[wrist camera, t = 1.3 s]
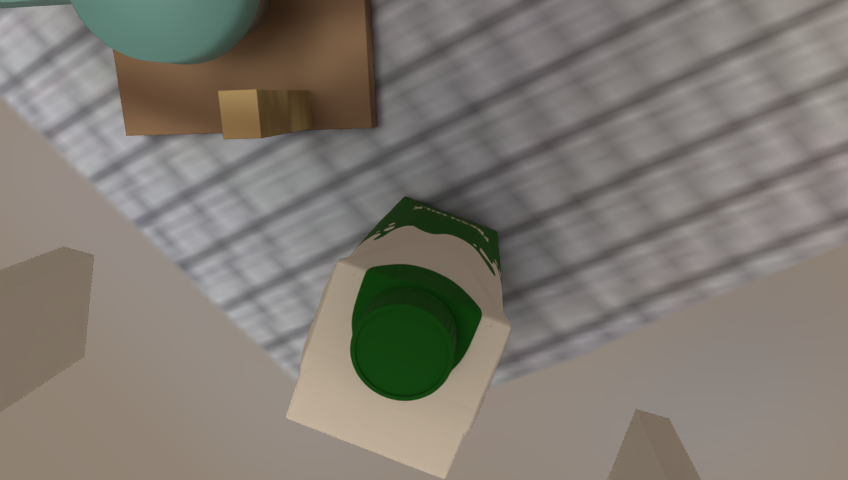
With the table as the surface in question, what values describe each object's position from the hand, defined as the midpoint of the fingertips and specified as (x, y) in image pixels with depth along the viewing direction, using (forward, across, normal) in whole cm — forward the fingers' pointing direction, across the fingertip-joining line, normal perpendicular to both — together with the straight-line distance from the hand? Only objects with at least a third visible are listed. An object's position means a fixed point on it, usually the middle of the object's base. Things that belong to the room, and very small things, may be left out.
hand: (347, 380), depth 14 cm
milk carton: (+28, 0, -5) cm, 29 cm away
